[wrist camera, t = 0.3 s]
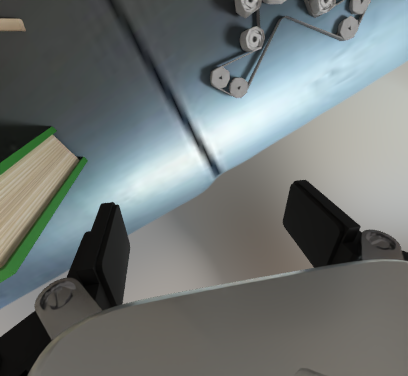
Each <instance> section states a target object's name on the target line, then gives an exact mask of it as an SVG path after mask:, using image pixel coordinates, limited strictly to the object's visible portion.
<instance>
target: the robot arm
mask: <svg viewBox="0 0 408 376" xmlns="http://www.w3.org/2000/svg"><path fill="white" fill-rule="evenodd" d="M283 225H284V227H285V228H286V230H287V231H288V233H289V234H290V235H291V237H292V238H293V239H294V241H295V242H296V243H297V245H298V246H299V248H300V249H301V250H302V251H303V253H304V254H305V256H306V257H307V258H308V260H309V261H310V263H311V264H312V265H313V267H314V268H311V269H305V270H300V271H294V272H288V273H283V274H277V275H271V276H266V277H261V278H254V279H249V280H243V281H238V282H232V283H227V284H221V285H216V286H211V287H205V288H200V289H195V290H189V291H184V292H178V293H173V294H168V295H163V296H159V297H153V298H148V299H143V300H138V301H135V302H131V303H126V304H122V303H123V296H124V289H125V281H126V274H127V267H128V259H129V253H130V243H129V239H128V236H127V232H126V229H125V225H124V221H123V218H122V214H121V211H120V207H119V205H115V203H114V202H111V203H102V204H101V205H100V208H99V211H98V213H97V216H96V219H95V221H94V224H93V227H92V229H91V231H89V232H86V233H85V234H84V236H83V238H82V241H81V243H80V246H79V248H78V251H77V253H76V256H75V258H74V260H73V263H72V265H71V268H70V270H69V273H68V275H67V278H63V279H60V280H57V281H55V282H53V283H51V284H50V285H49V286H47V287H46V288H45V289H44V290H43V291H42V292H41V293H40V294H39V296H38V298H37V299H36V302H35V311H34V312H33V313H32V314H30V315H29V316H28V317H26V318H25V319H24V320H22V321H21V322H20V323H18V324H17V325H16V326H14V327H13V328H12V329H11V330H9V331H8V332H7V333H5V334H4V335H3V336H2V337H0V376H408V252H405V251H402V250H401V246H400V244H399V243H398V242H397V241H396V239H394V238H393V237H391V236H390V235H388V234H386V233H383V232H381V231H377V230H365V231H363V232H362V233H361V232H360V231H359V229H360V225H358V224H357V223H356V222H355V221H354V220H352V219H351V218H350V217H349V216H348V215H347V214H345V213H344V212H343V211H342V210H341V209H340V208H338V207H337V206H336V205H335V204H334V203H333V202H331V201H330V200H329V199H328V198H327V197H325V196H324V195H323V194H322V193H321V192H320V191H318V190H317V189H316V188H315V187H314V186H313V185H311V184H310V183H309V182H308V181H306V180H300V181H294V183H293V184H291V187H290V191H289V195H288V200H287V204H286V209H285V214H284V218H283Z"/></svg>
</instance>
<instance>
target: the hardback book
mask: <svg viewBox="0 0 408 376" xmlns="http://www.w3.org/2000/svg"><path fill="white" fill-rule="evenodd" d="M56 131H57V130H56V129H54V128H53V127H50V128H49V129H48V130H46V131H45V132H43V133H42V134H40V135H39V136H38V137H36V138H35V139H33V140H32V141H30V142H29V143H28V144H26V145H25V146H23V147H22V148H21V149H19V150H18V151H16V152H15V153H13V154H12V155H11V156H9V157H8V158H6V159H5V160H4V161H2V162H1V163H0V283H1V282H2V281H4V280H6V279H7V278H9V277H10V276H12V275H14V274H15V273H16V272H17V270H18V269H19V267H20V266H21V264H22V262H23V261H24V259H25V258H26V256H27V255H28V253H29V252H30V250H31V248H32V247H33V245H34V244H35V242H36V241H37V239H38V237H39V236H40V234H41V233H42V231H43V230H44V228H45V227H46V225H47V223H48V222H49V220H50V219H51V217H52V216H53V214H54V212H55V211H56V209H57V208H58V206H59V205H60V203H61V202H62V200H63V198H64V197H65V195H66V194H67V192H68V191H69V189H70V188H71V186H72V184H73V183H74V181H75V180H76V178H77V177H78V175H79V173H80V172H81V170H82V169H83V167H84V166H85V164H86V163H87V161H88V160H87V159H86V158H85V157H83V158H81V159H80V160H79V159H78V158H77V157H76V156H75V155H74V154H73V153H71V152H70V151H69V150H68V149H67V148H66V147H65V146H64V145H63V144H62V143H61V142H60V141H59V140H58V139H57V138H56V137H54V136H53V134H54V133H55V132H56Z"/></svg>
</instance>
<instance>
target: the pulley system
mask: <svg viewBox="0 0 408 376" xmlns="http://www.w3.org/2000/svg"><path fill="white" fill-rule="evenodd" d="M284 1H286V0H263V2H264V3H267V4H282V3H283V2H284ZM343 1H344V0H342V1H340V2H338V3H337V4H336V0H309V1H308V0H304V2H305V5H306V7H307V10H308V13H309V15H311V16H313V17H315V18H316V17H318V16H320V15H322V14H323V13H326V12H328V11H330V10H331V9H332V8H333V7H335V6H336V5H338V4H339V3H341V2H343ZM261 2H262V0H235V7H236V13H238V14H239V15H240V16H242V17H244V18H247V17H248V16H249V15H251V14H252V13H253V12H255V11H256V13H257V26H256V27H252V28H251V29H248V30H246V31H244V32H242V34H241V37H240V45H241V47H242V49H243V50H244V51H246V52H250V51H252V52H254V51H256V50H259V49H261V48H262V46H263V43H264V40H265V35H264V30H262V29H260V13H259V7H260V6H261ZM370 2H371V0H350V4H349V10H350V11H351V14H360V16H359V18H358V20H356V19H355V18H354V17H352V16H350V17H348V18H346V19H344V20H343V21H341V23H340V24H339V25H338V31H337V33H336V35H335V34H332V33H330V32H327V31H324V30H322V29H319V28H317V27H314V26H312V25H309V24H306V23H304V22H301V21H299V20H296V19H294V18H291V17H288V16H284V17H283V18H287V19H290V20H292V21H294V22H297V23H299V24H302V25H304V26H306V27H309V28H311V29H314V30H316V31H318V32H321V33H323V34H326V35H328V36H330V37H333V38H335V39H338V40H339V41H345V40H349V39H351V38H353V37H354V35H355V34H356V32H357V30H358V27H359V25H360V23H361V20H362V18H363V16H364V14H365V11H366V9H367V7H368V5H369V4H370ZM283 18H281V19H279V20H278V22H277V24H276V26H275V28H274V30H273V32H272V34H271V36H270V38H269V40H268V42H267V44H266V46H265V48H264V51H263V53H262V55H261V57H260V59H259V61H258V63H257V65H256V67H255V69H254V71H253V73H252V75H251V77H250V79H249V81H248V82H247V81H246V80H244V79H243V78H233V79H232V81H231V82H230V84H229V92H230V93H228V92H226V91H225V90H223V89H221V88H224V87H226V86H227V84H228V82H229V80H230V75H229V71H227V70H226V69H224V68H223V67H224V66H226V65H228V64H230V63H232V62H234V61H236V60H238V59H240V58H242V57H244V56H246V55H248V54H250V53H252V52H250V53H248V54H246V55H244V56H242V57H240V58H237V59H235V60H233V61H231V62H229V63H227V64H224V65H222V66H220V67H218V68H216V69H214V70H213V71H211V75H210V82H211V85H212V86H213V87H215V88H217V89H219V90H221V91H223V92H225V93H227V94H229V95H231V96H233V97H235V98H241V97H243V96H244V95H245V94H246V93H247V90H248V88H249V86H250V84H251V82H252V79H253V77H254V75H255V73H256V71H257V69H258V67H259V65H260V63H261V61H262V59H263V56H264V54H265V52H266V50H267V48H268V46H269V44H270V42H271V40H272V38H273V36H274V33H275V31H276V29H277V27H278V25H279V23H280V21H281V20H282V19H283ZM219 77H220V79H219Z"/></svg>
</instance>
